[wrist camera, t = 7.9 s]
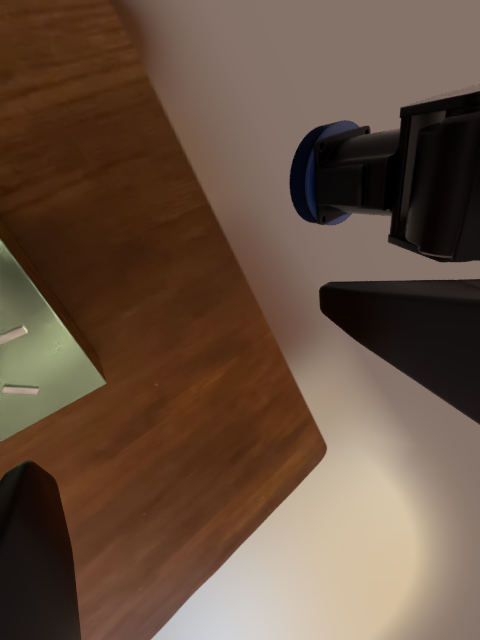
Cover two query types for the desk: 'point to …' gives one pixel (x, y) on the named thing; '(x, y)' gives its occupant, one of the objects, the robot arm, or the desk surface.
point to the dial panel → (37, 346)
